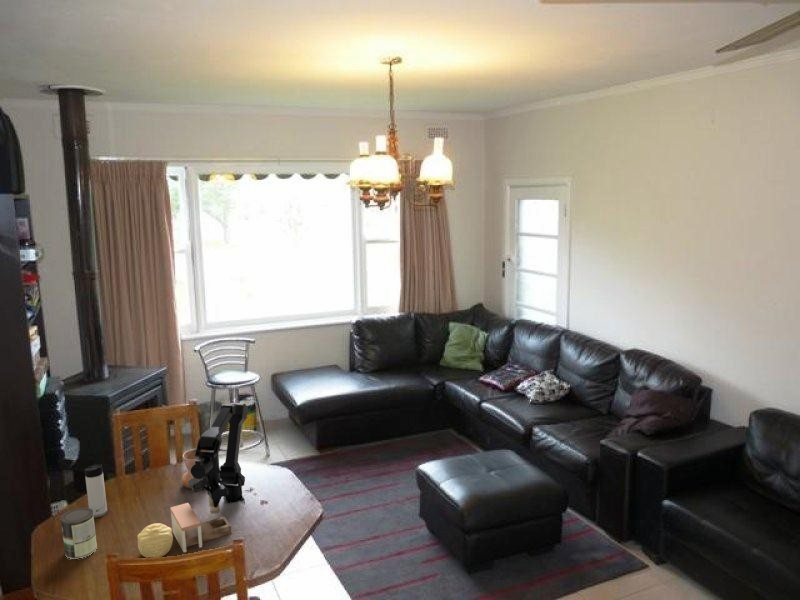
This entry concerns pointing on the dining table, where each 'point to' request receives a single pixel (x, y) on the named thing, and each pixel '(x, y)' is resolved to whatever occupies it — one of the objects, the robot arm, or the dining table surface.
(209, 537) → the socket block
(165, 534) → the sculpture
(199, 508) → the dining table surface
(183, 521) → the footed pink board
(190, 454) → the ceramic jug
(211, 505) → the peg
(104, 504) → the travel mug
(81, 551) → the coffee can
